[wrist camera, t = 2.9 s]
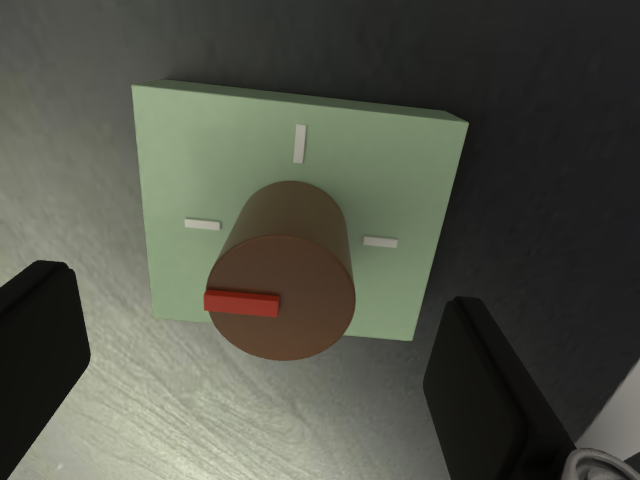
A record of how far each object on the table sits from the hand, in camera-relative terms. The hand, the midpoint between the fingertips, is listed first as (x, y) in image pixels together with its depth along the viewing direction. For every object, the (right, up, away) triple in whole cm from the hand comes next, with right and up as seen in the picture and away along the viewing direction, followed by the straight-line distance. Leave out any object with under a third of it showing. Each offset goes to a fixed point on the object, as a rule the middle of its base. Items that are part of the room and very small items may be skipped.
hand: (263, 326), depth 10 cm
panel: (0, +4, +9) cm, 9 cm away
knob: (0, +3, +6) cm, 6 cm away
